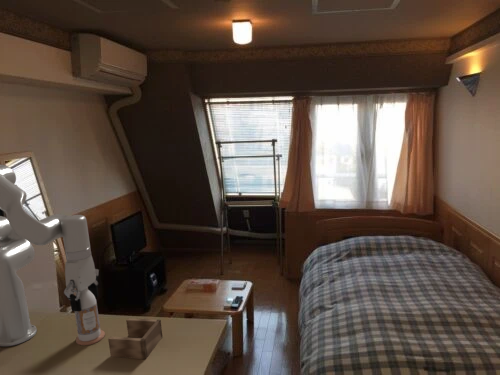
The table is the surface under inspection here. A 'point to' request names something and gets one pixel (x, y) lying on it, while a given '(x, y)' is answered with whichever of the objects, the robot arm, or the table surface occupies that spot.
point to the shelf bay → (137, 339)
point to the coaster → (91, 340)
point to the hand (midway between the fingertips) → (85, 303)
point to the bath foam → (87, 317)
